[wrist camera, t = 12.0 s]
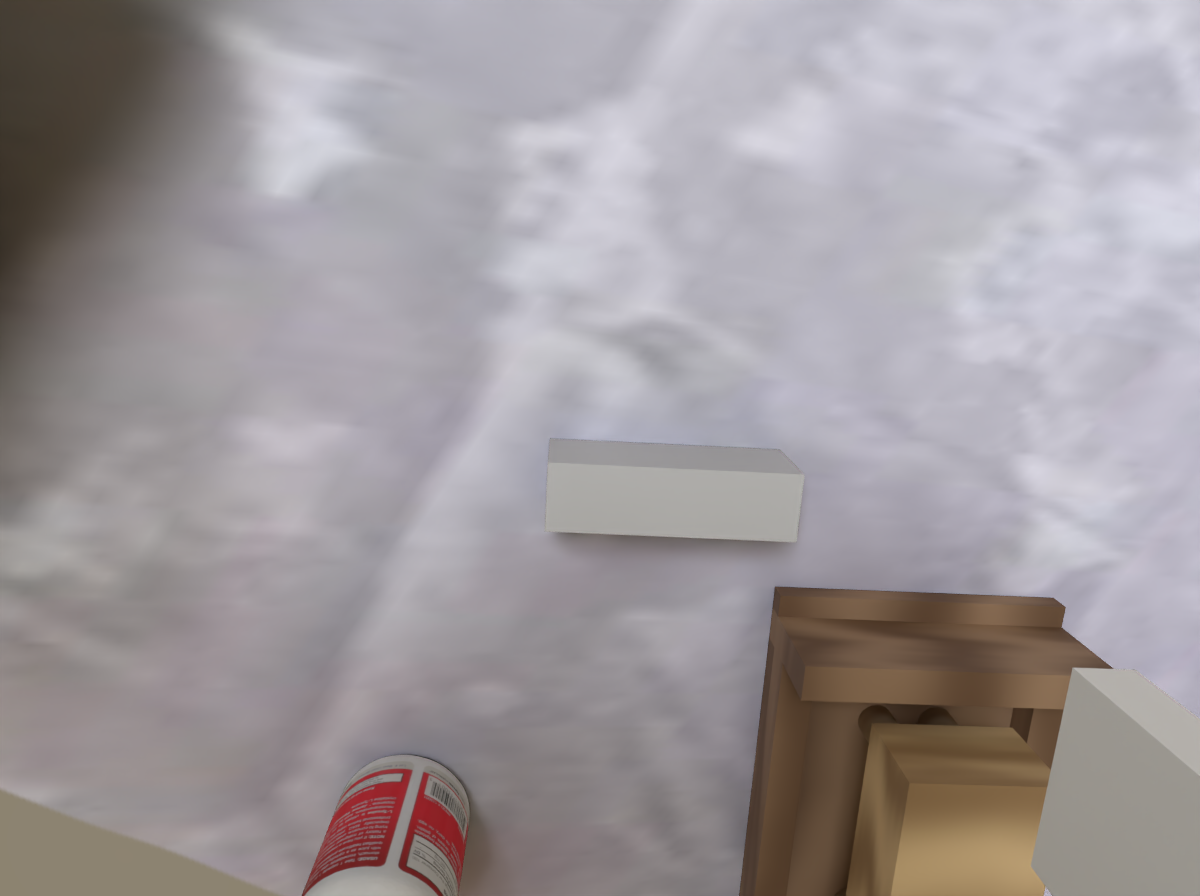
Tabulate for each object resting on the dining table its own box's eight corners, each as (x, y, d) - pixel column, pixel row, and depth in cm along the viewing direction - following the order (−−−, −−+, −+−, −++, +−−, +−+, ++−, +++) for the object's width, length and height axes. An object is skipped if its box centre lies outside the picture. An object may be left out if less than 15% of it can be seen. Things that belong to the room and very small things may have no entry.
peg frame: (729, 983, 44) (751, 1086, 38) (775, 586, 38) (808, 643, 33) (974, 987, 44) (1030, 1090, 39) (1053, 597, 39) (1130, 655, 34)
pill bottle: (327, 841, 41) (241, 1056, 30) (361, 733, 40) (284, 919, 29) (451, 874, 42) (410, 1096, 31) (489, 769, 40) (460, 963, 29)
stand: (547, 500, 37) (544, 531, 33) (549, 438, 36) (547, 462, 32) (772, 510, 38) (796, 542, 34) (779, 449, 37) (804, 474, 33)
